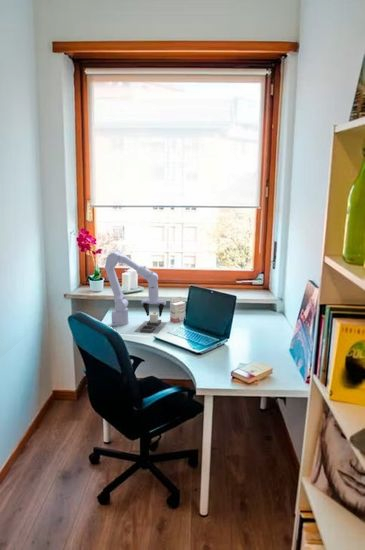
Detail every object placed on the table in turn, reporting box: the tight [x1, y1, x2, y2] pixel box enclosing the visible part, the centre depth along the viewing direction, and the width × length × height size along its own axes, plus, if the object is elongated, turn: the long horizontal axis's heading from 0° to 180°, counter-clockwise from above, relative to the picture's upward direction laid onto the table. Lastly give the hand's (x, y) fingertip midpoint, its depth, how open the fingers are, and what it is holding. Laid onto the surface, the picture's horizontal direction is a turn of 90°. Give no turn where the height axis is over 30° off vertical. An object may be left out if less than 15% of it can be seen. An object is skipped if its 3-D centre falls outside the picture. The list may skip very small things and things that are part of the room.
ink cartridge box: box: [169, 296, 186, 323], centre depth 248 cm, size 9×5×15 cm, turn 130°
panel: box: [133, 319, 168, 335], centre depth 237 cm, size 14×20×2 cm
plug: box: [149, 311, 159, 323], centre depth 242 cm, size 4×4×7 cm
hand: (154, 315), depth 242 cm, fingers open, 7 cm apart
